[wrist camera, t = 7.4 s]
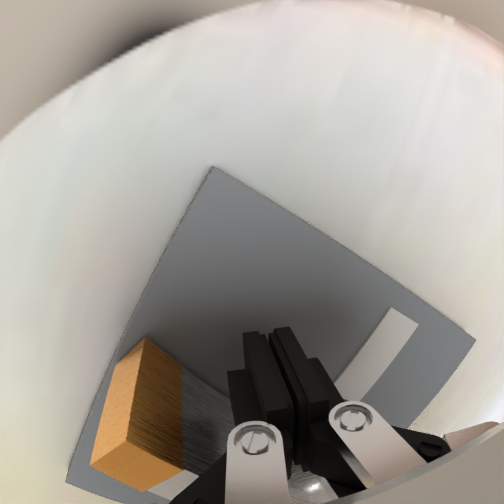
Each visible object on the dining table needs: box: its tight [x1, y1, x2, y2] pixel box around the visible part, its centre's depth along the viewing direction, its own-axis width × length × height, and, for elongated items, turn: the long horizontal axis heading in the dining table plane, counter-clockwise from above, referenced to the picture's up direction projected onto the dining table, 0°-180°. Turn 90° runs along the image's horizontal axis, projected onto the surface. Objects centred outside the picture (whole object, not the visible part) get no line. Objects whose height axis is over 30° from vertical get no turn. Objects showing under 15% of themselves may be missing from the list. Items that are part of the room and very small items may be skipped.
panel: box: [65, 166, 476, 504], centre depth 14 cm, size 17×20×2 cm
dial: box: [90, 337, 332, 504], centre depth 11 cm, size 13×6×5 cm, turn 42°
